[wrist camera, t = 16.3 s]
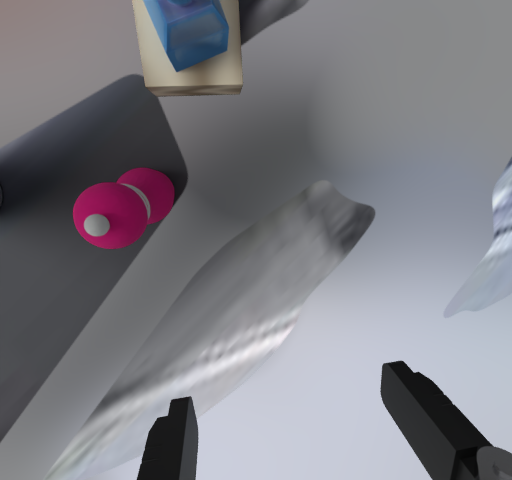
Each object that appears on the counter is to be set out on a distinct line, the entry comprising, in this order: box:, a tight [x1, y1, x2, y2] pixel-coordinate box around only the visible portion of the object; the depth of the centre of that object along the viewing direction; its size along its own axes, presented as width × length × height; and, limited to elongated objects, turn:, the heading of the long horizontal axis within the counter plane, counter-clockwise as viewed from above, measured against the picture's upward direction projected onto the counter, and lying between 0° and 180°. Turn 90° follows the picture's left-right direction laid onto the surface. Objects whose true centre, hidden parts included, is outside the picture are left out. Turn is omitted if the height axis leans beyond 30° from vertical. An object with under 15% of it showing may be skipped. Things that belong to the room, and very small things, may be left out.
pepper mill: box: [73, 168, 175, 249], centre depth 30 cm, size 7×7×20 cm
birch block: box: [132, 0, 243, 97], centre depth 33 cm, size 11×11×6 cm
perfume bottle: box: [143, 0, 229, 72], centre depth 24 cm, size 6×6×12 cm
